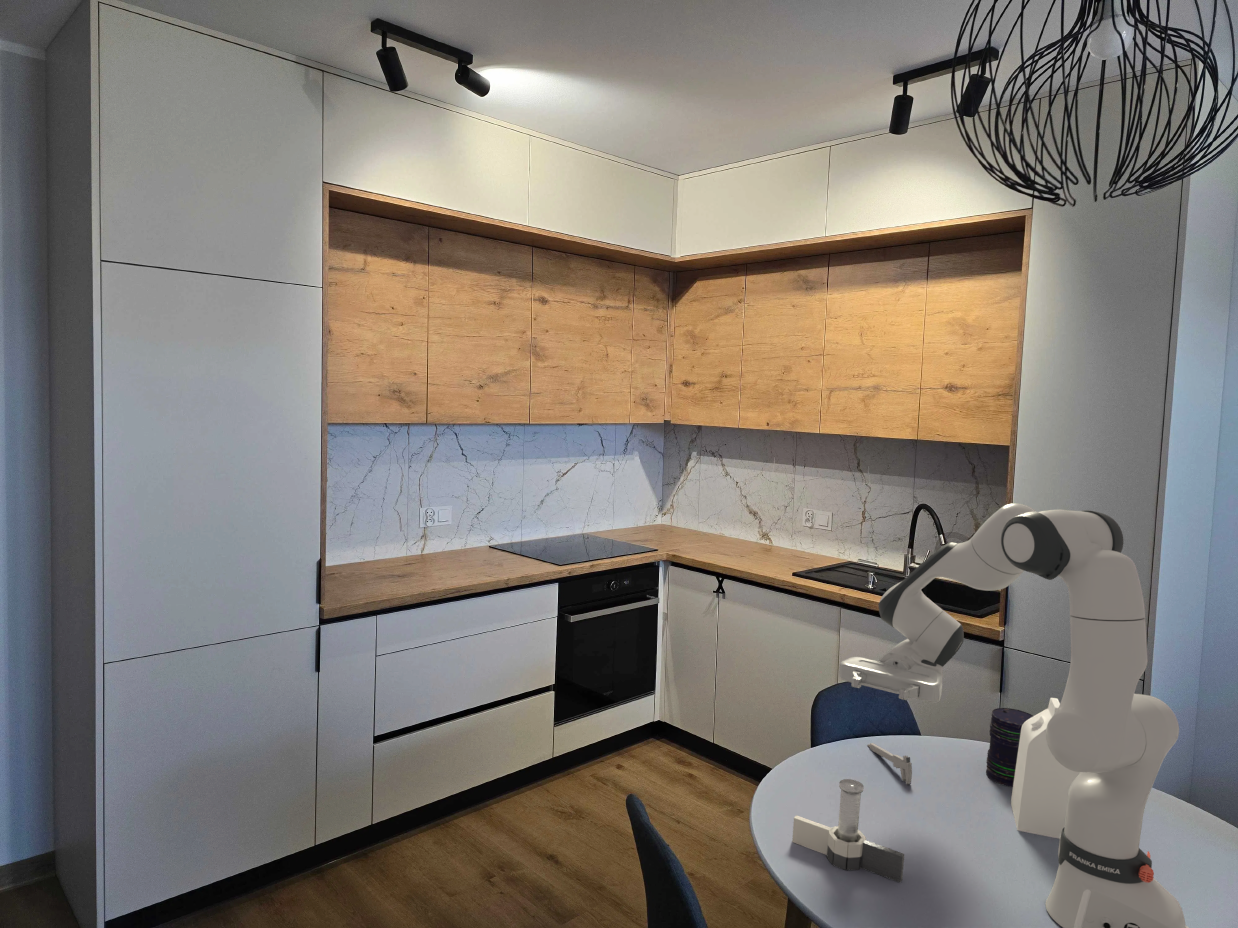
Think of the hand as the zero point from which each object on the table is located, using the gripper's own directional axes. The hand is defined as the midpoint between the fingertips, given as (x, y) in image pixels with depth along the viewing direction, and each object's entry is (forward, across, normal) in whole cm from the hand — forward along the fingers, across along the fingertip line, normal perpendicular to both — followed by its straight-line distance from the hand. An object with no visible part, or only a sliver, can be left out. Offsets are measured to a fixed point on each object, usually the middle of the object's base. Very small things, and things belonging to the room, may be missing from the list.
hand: (878, 689), depth 166 cm
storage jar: (-46, +18, +30) cm, 58 cm away
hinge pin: (+12, 0, +30) cm, 32 cm away
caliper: (-34, -6, +30) cm, 46 cm away
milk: (-29, +28, +30) cm, 50 cm away
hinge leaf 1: (+12, -4, +30) cm, 32 cm away
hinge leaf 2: (+12, +4, +30) cm, 32 cm away
